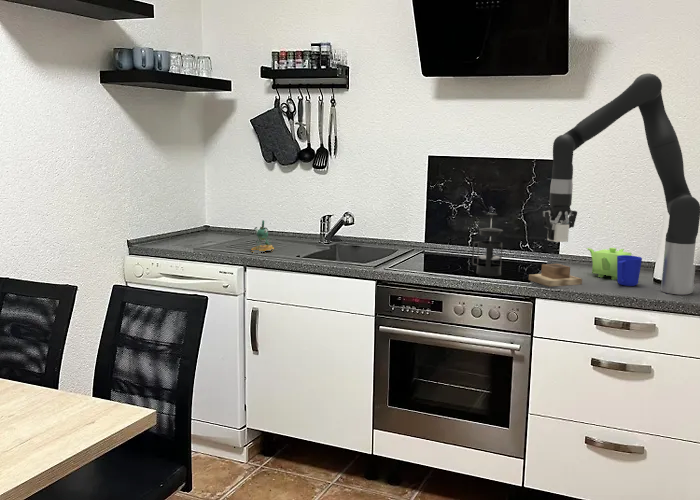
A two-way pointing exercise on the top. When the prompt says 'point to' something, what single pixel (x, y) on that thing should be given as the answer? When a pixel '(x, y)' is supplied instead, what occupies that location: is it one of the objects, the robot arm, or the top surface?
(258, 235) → the frog figurine
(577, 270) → the top surface
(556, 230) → the cube
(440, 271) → the top surface
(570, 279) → the board
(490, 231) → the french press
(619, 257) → the mug
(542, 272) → the base block
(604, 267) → the kettle
